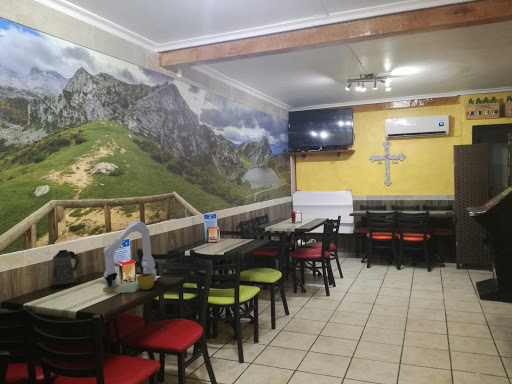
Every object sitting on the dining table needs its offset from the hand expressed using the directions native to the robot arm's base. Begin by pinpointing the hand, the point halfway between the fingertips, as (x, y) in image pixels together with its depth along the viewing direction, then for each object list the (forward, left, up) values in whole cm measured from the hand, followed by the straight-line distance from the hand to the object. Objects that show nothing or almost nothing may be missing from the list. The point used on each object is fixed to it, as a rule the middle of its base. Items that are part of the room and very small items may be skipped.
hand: (111, 285), depth 260 cm
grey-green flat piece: (0, +12, -3) cm, 12 cm away
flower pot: (-2, +23, -4) cm, 23 cm away
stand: (0, 0, -3) cm, 3 cm away
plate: (0, 0, -3) cm, 3 cm away
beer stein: (-16, -44, -4) cm, 47 cm away
